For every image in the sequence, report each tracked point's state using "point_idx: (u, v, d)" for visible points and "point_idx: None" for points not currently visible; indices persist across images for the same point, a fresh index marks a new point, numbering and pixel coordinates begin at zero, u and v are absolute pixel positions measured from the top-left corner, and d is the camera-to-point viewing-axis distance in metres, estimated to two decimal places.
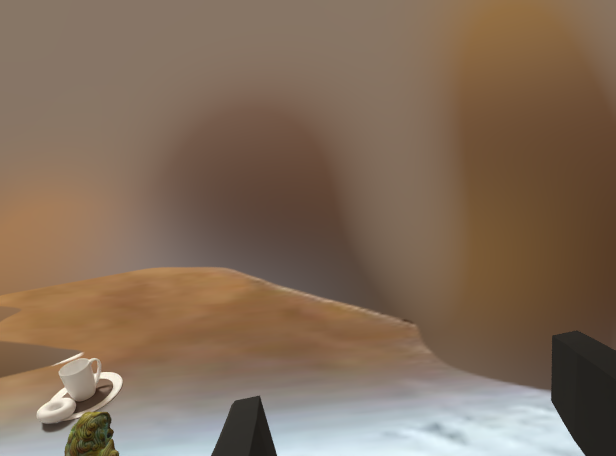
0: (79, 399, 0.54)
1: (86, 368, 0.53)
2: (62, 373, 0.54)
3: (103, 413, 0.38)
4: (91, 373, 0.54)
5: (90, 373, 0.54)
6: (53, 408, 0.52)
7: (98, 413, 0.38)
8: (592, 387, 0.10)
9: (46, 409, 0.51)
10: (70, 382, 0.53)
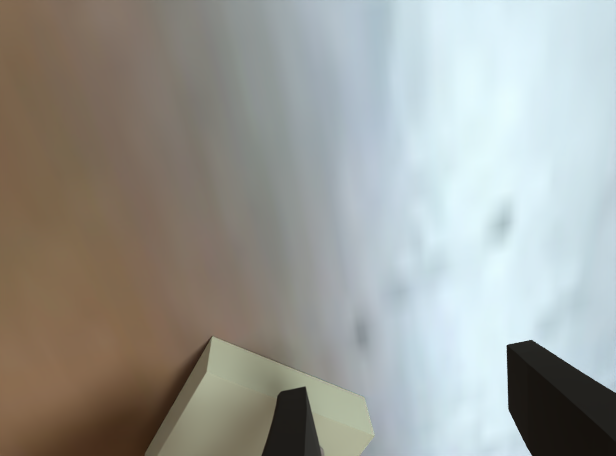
0: None
1: None
2: None
3: None
4: None
5: None
6: None
7: None
8: (541, 398, 0.10)
9: None
10: None
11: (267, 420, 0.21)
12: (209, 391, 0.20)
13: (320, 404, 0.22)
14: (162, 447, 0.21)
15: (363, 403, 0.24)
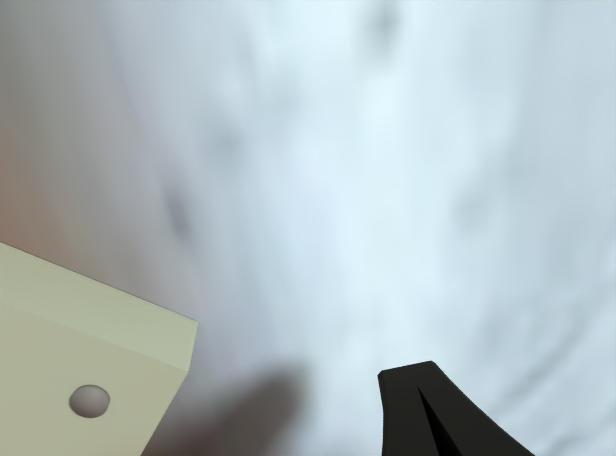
0: None
1: None
2: None
3: None
4: None
5: None
6: None
7: None
8: (428, 421, 0.10)
9: None
10: None
11: (1, 343, 0.13)
12: None
13: (101, 321, 0.14)
14: None
15: (191, 329, 0.16)
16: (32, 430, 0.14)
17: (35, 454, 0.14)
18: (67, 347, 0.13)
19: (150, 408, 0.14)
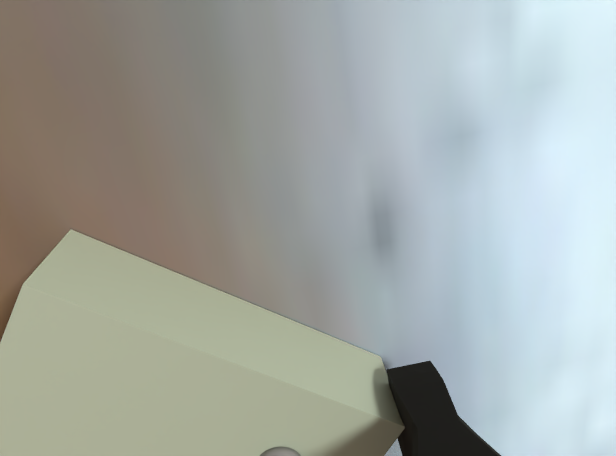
0: None
1: None
2: None
3: None
4: None
5: None
6: None
7: None
8: (406, 425, 0.10)
9: None
10: None
11: (178, 397, 0.10)
12: (37, 331, 0.09)
13: (293, 364, 0.11)
14: None
15: (379, 367, 0.12)
16: None
17: None
18: (261, 400, 0.10)
19: None
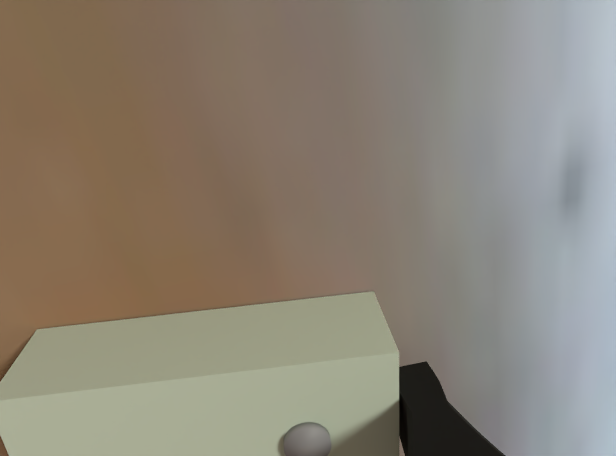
0: None
1: None
2: None
3: None
4: None
5: None
6: None
7: None
8: None
9: None
10: None
11: (175, 427, 0.10)
12: (26, 431, 0.10)
13: (264, 347, 0.10)
14: None
15: (371, 302, 0.12)
16: None
17: None
18: (245, 396, 0.10)
19: (380, 417, 0.11)
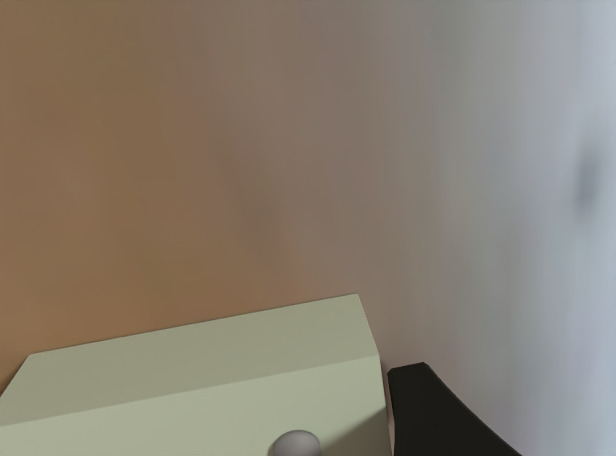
0: None
1: None
2: None
3: None
4: None
5: None
6: None
7: None
8: None
9: None
10: None
11: (164, 444, 0.10)
12: None
13: (246, 358, 0.10)
14: None
15: (354, 305, 0.12)
16: None
17: None
18: (230, 407, 0.10)
19: (368, 420, 0.11)
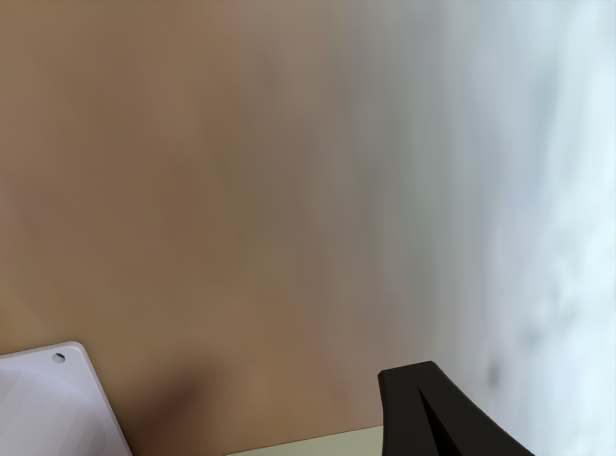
0: None
1: None
2: None
3: None
4: None
5: None
6: None
7: None
8: (428, 420, 0.10)
9: None
10: None
11: None
12: None
13: None
14: None
15: None
16: None
17: None
18: None
19: None
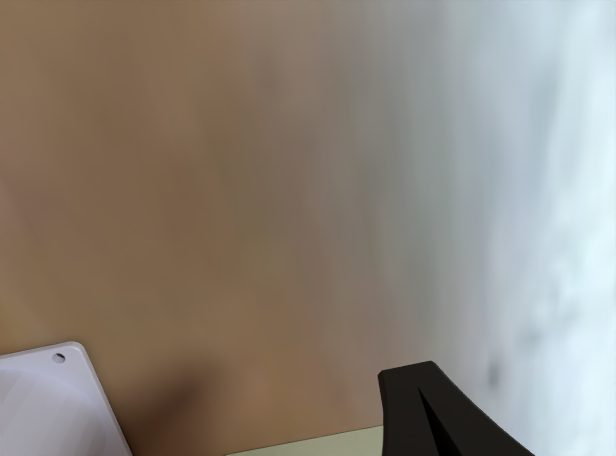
0: None
1: None
2: None
3: None
4: None
5: None
6: None
7: None
8: (428, 421, 0.10)
9: None
10: None
11: None
12: None
13: None
14: None
15: None
16: None
17: None
18: None
19: None
